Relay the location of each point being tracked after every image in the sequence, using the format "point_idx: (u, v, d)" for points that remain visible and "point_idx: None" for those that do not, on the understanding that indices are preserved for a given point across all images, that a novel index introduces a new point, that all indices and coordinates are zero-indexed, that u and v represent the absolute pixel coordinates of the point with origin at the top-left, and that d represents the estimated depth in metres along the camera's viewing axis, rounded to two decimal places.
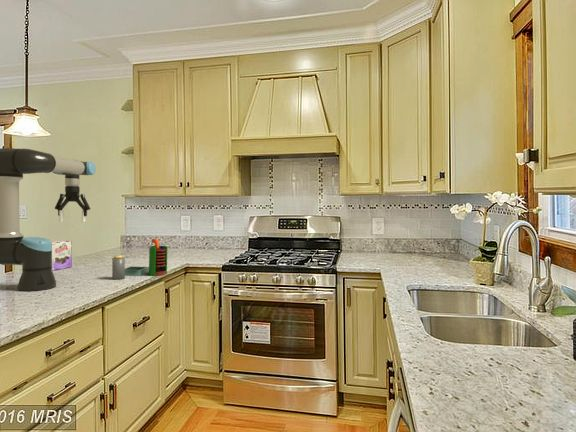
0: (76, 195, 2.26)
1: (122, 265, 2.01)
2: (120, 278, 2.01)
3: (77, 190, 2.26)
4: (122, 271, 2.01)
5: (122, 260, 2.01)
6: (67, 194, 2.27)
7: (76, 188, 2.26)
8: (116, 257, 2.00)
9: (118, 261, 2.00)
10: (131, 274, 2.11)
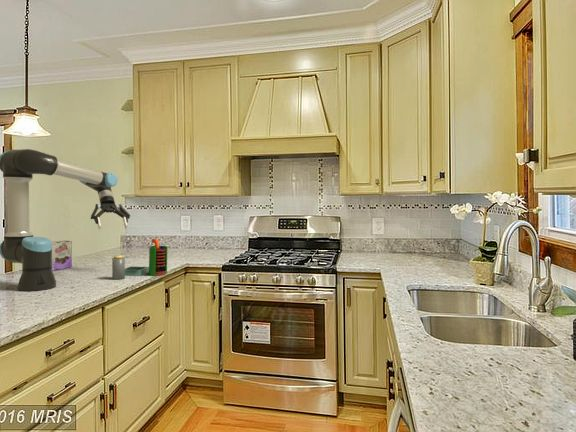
0: (114, 205, 2.20)
1: (122, 265, 2.01)
2: (120, 278, 2.01)
3: (114, 202, 2.22)
4: (122, 271, 2.01)
5: (122, 260, 2.01)
6: (104, 204, 2.17)
7: (113, 199, 2.22)
8: (116, 257, 2.00)
9: (118, 261, 2.00)
10: (131, 274, 2.11)
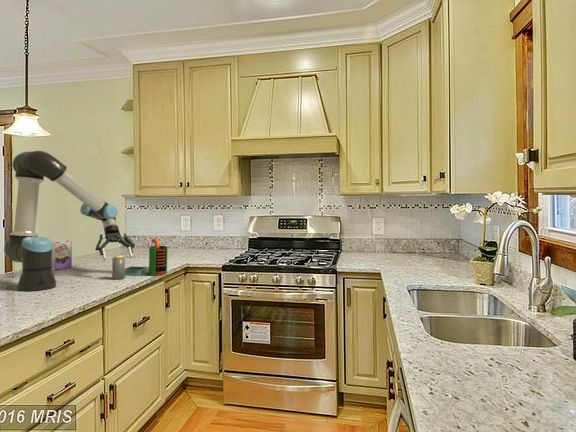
0: (119, 234, 2.17)
1: (122, 265, 2.01)
2: (120, 278, 2.01)
3: None
4: (122, 271, 2.01)
5: (122, 260, 2.01)
6: (108, 234, 2.14)
7: (118, 228, 2.19)
8: (116, 257, 2.00)
9: (118, 261, 2.00)
10: (131, 274, 2.11)
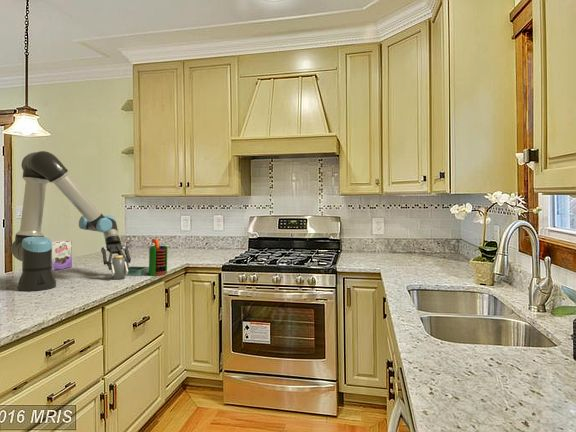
0: (120, 245, 2.10)
1: (122, 265, 2.01)
2: (120, 278, 2.01)
3: (120, 241, 2.12)
4: (122, 271, 2.01)
5: (122, 260, 2.01)
6: (109, 245, 2.07)
7: None
8: (116, 257, 2.00)
9: (118, 261, 2.00)
10: (131, 274, 2.11)
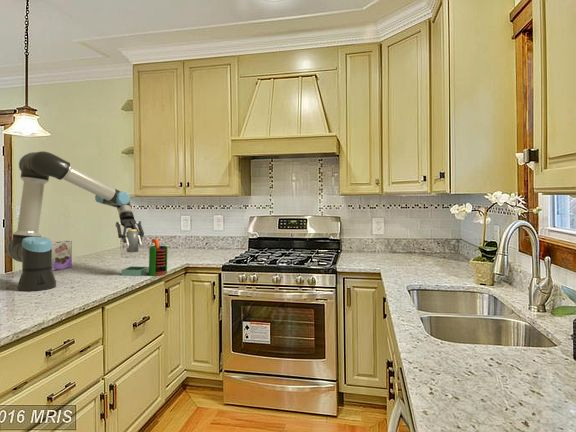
0: (134, 220, 2.20)
1: (136, 238, 2.11)
2: (134, 251, 2.10)
3: (133, 217, 2.22)
4: (136, 244, 2.11)
5: (136, 233, 2.11)
6: (124, 220, 2.17)
7: None
8: (130, 231, 2.10)
9: (132, 235, 2.09)
10: (131, 274, 2.11)
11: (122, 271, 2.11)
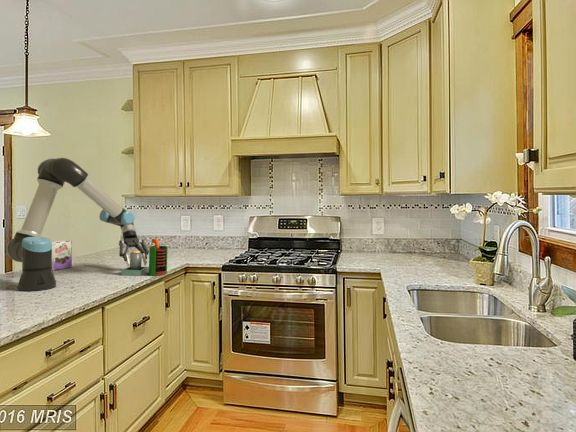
0: (137, 239, 2.24)
1: (139, 260, 2.15)
2: None
3: (136, 236, 2.26)
4: (139, 265, 2.15)
5: (139, 255, 2.15)
6: (127, 239, 2.21)
7: None
8: (134, 252, 2.14)
9: (135, 256, 2.13)
10: (131, 274, 2.11)
11: (122, 271, 2.11)
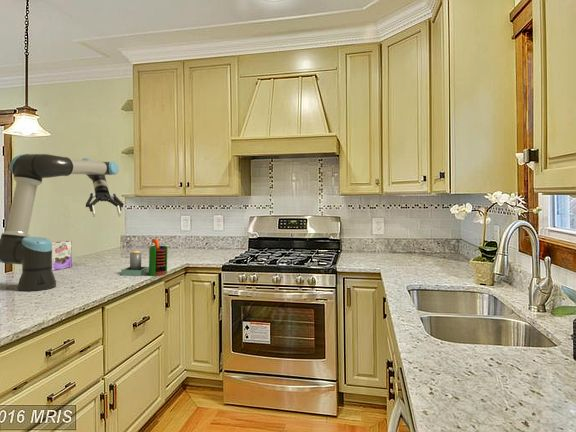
0: (108, 194, 2.30)
1: (139, 260, 2.15)
2: None
3: (108, 191, 2.32)
4: (139, 265, 2.15)
5: (139, 255, 2.15)
6: (98, 193, 2.27)
7: None
8: (134, 252, 2.14)
9: (135, 256, 2.13)
10: (131, 274, 2.11)
11: (122, 271, 2.11)
